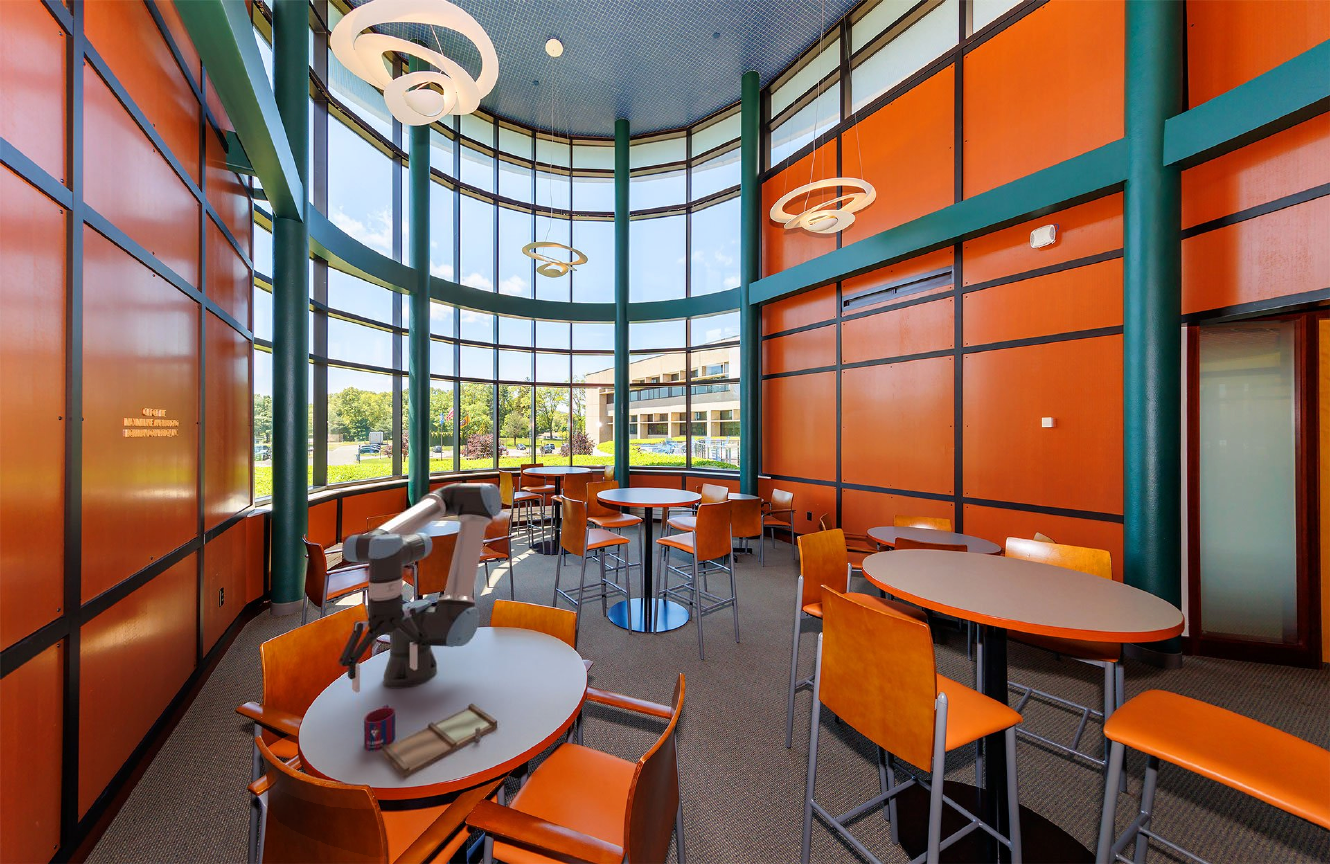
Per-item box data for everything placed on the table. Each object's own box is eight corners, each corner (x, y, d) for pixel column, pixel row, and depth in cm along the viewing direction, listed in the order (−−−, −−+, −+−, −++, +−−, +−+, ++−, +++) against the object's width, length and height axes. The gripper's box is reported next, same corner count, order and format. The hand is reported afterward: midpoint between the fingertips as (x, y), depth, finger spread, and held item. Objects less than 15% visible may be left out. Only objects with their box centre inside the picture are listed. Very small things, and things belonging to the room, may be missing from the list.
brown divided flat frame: (381, 753, 113) (381, 740, 113) (471, 709, 131) (471, 698, 131) (407, 780, 104) (407, 766, 104) (500, 729, 121) (500, 718, 122)
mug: (359, 752, 113) (359, 724, 113) (376, 727, 123) (376, 701, 123) (389, 748, 114) (389, 720, 115) (403, 724, 124) (403, 698, 124)
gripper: (334, 613, 107) (334, 706, 107) (441, 586, 127) (441, 663, 127) (323, 606, 112) (323, 695, 112) (428, 581, 132) (428, 656, 131)
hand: (386, 678), depth 119 cm, fingers open, 13 cm apart
